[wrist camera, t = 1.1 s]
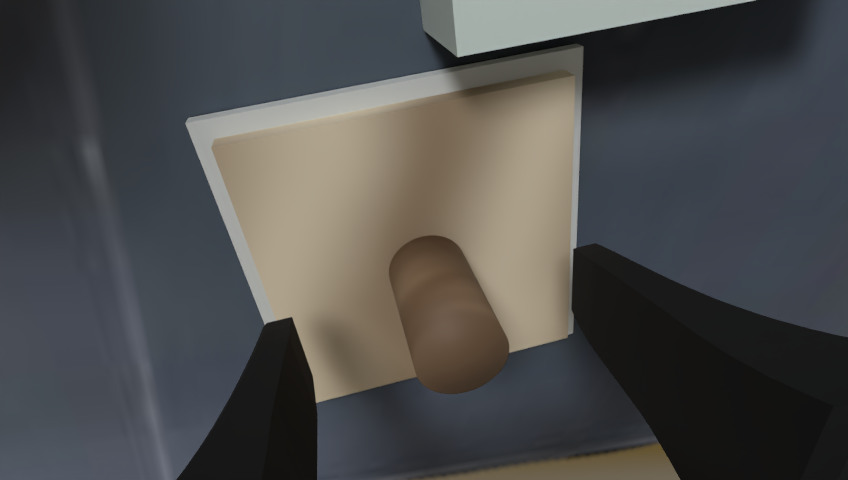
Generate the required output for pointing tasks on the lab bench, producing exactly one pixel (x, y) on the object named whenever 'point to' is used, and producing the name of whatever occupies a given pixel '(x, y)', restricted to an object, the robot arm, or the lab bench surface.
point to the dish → (539, 19)
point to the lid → (414, 231)
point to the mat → (370, 97)
